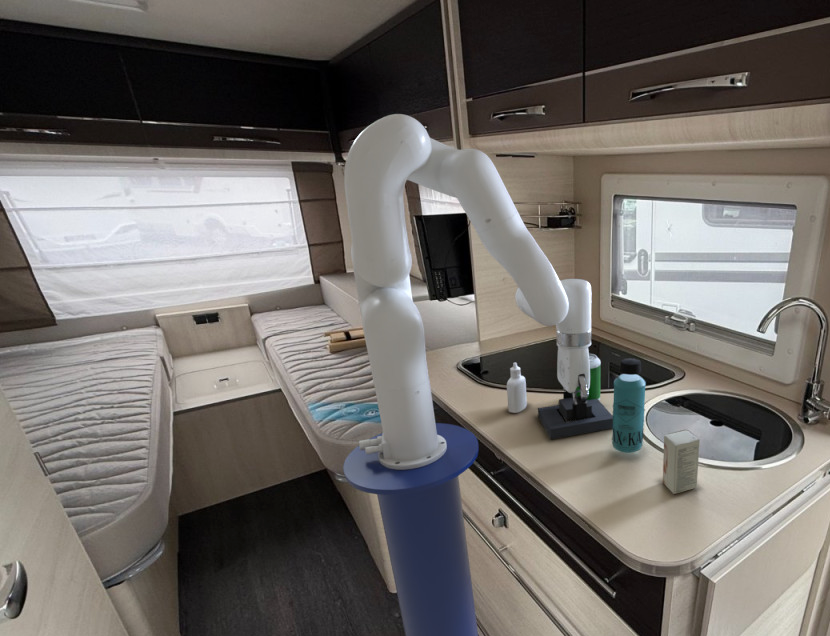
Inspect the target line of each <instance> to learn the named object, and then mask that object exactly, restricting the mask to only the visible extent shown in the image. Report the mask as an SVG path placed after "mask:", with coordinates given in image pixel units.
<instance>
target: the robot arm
mask: <svg viewBox="0 0 830 636" xmlns="http://www.w3.org/2000/svg"><path fill="white" fill-rule="evenodd" d="M344 164H345V165H344V166H345V167H344V175H343V178H344V180H343V181H344V182H343V183H344V191H345V192H344V195H345V200H346V201H345V203H346V208H347V218H348V225H349V230H350V237H351V238H350V239H351V245H350V259H351V263H352V270H353V275H354V281H355V287H356V293H357V298H358V303H359V304H358V305H359V311H360V317H361V325H362V330H363V331H362V332H363V337H364V340H365V346H366V351H367V355H368V356H367V357H368V360H369V366H370V370H371V371H370V372H371V377H372V382H373V386H374V391H375V397H376V401H377V407H378V413H379V418H380V424H381V429H382V433H383V434H382V436H378V437H377V439H370V438H368V439H362V440H361V439H360V440H359V442H358V444H359V445H358V446H360V450H361V451H362V450H365V451H366V455H367V454H373V453H377V452H379V453H378V457H379V461H380V463H381V464H382V465H383V466H385V467H387V468H390V469H396V470H407V469H414V468H419V467H422V466H425V465H428V464H431V463H432V462H434V461H436V460H438V459H439V458H440V457H441V456H443V455H444V453H445V452H446V449H447V444H446V440H445V439H444V438H443V437H442V436H440V435H437V431H436V424H435V423H436V416H435V411H434V410H435V409H434V403H433V402H434V401H433V394H432V389H431V380H430V376H429V368H428V360H427V352H426V337H425V336H426V335H425V327H424V321H423V317H422V315H421V313H420V310H419V309H418V307H417V305H416V304H415V303H414V300H413V293H412V285H411V278H410V273H411V271H412V267H413V257H412V252H411V248H410V243H409V237H408V229H407V223H406V213H405V212H406V211H405V200H404V194H405V193H404V191H405V185H406V183H407V181H409V182H412V183H415V184H417V185H419V186H422V187H424V188H428V189H430V190H433V191H435V192H437V193H440V194H442V195H446V196H449V197H452V198H455V199H457V201H458V203H459V204H460V206H461V209H462V210H463V211H464V212H465V214H466V216H467V218H468V219H469V221H470V223H471V225H472V226H473V228H474V230H475V232H476V234H477V236H478V238H479V240H480V242H481V243H482V245H483V246H484V248H485V249H486V251H487V252H488V253H489V255H491V257H492V258H493V259H494V260H495V261H496V262H497V263H498V264H499V265H501V266H502V268H504V269H505V271H506V273H508V274H509V276H510V277H511V278H512V279H513V281H514V282H515V284H516V285H517V287H518V288H517V289H516V292H515V295H514V300H515V303H516V306H517V307H518V309H519V310H520V311H521V312H522V313H523V314H524V315H526V316H528V317H529V318H531V319H532V320H534V321H535V322H537V323H538V324H540V325H542V326H546V327H552V326H553V327H554V326H555V335H556V338H555V339H556V346H557V361H556V362H557V363H556V365H557V366H556V371H557V372H556V376H557V377H556V378H557V380H558V383H560V385H561V386H562V390H563V391H562V394H563V395H562V396H563V397H562V399H565V398H572V397H573V401H574V403H572V419H573V420H575V421H576V420H580V419H581V420H582V419H586V418H587V398H588V390H589V388H590V363H589V354H590V352H589V351H590V350H589V347H590V346H591V345H592V286H591V283H590V282H589V281H588V280H586V279H581V278H565V279H560V278H559V276H558V274H557V273H556V270H555V268H554V267H553V265H552V263H551V261H550V260H549V258H548V257H547V255H546V254H545V253H544V251H543V250H542V248H541V247H540V245H539V244H538V243H537V241H536V240H535V238H534V237H533V235H532V234H531V233H530V231H529V229H528V228H527V226H526V224H525V223H524V221H523V219H522V218H521V215H520V213H519V211H518V210H517V207H516V206H515V203H514V201H513V199H512V197H511V195H510V193H509V191H508V189H507V188H506V185H505V183H504V182H503V179H502V178H501V175H500V173H499V172H498V170H497V168H496V166H495V164H494V162H493V161H492V160H491V158H490V157H489V156H488V155H487V153H485V152H484V151H482V150H479V149H477V148H468V147H467V148H462V149H458V148H456V147H452V146H450V145H447V144H445V143H443V142H440V141H438V140H437V139H434V138H432V137H430V135H429V133H428V131H427V129H426V128H425V126H424V125H423V124H422V123H421V122H420V121H419V120H417V119H416V118H415V117H412V116H410V115H407V114H402V113H394V114H388V115H386V116H383V117H382V118H379V119H377V120H375V121H374V122H373V123H371V124H370V125H368V126H367V127H365V128H364V129H363V130H362V131H361V132H360V133H359V134H358V136H357V137H356V138H355V139H354V141H353V142H352V145H351V146H350V149H349V150H348V153H347V155H346V161H345V163H344ZM577 387H579V388H580V390H576V388H577ZM580 392H581V394H580V396H578V397H577V393H580ZM587 419H588V418H587Z"/></svg>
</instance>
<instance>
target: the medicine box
mask: <svg viewBox="0 0 830 636" xmlns="http://www.w3.org/2000/svg"><path fill="white" fill-rule="evenodd" d="M700 443H701V439H700V437H697V435H695V434H694V433H693V432H692V431H690V430H689V429H687V428H686V429H682V430H681V429H680V430H677V431H673V432H669V433H666V434H663V459H662V461H663V462H662V463H663V464H662V466H663V467H662V483H663V484H664V485H665V486H666V487H667V489H668V490H669V491H670V492H671V493H672V494H673V495H675V494H676V495H677V494H679V493H683V492H686V491H690V490H693V489H696V488H697V487H698V476H699V475H698V474H699V473H698V472H699V461H700Z"/></svg>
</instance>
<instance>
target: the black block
mask: <svg viewBox="0 0 830 636" xmlns="http://www.w3.org/2000/svg"><path fill="white" fill-rule="evenodd" d="M572 403H574V401H573V397H572V398H565V399H563V398H559V399H558V405H559V411H560V413H561V414H562V416H563V417H562V418H563V420H564V421H565V422H570V421H576V420H573V419H572ZM588 418H592V406H591V404H590V403H589V402H588V401H587V418H586V419H588ZM580 420H582V419H580Z"/></svg>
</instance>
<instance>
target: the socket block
mask: <svg viewBox="0 0 830 636" xmlns="http://www.w3.org/2000/svg"><path fill="white" fill-rule="evenodd" d="M587 401H588V402H589V403H590V404H591V406H592V418H587V419H581V420H575V421H569V422H566V421H565V419H564V417H563V416H562V414H561V413H560V411H559V404H555V405H549V406H542V407H537V417H538V420H539V422H540V424H541V425H542V427H543V428H544V430H545V432H546V434H547V435H548V437H549V439H550V440H555V439H561V438H567V437H571V436H578V435H583V434H589V433H594V432H600V431H605V430H610V429H611V430H612V429H613V426H612V423H613V420H612V419H613V416H612V415H613V413H611V412H610V411H609V410H608V408H606V406H605V405H603V403H602V402H601V401H600V400H598V399H593V400H587Z"/></svg>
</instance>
